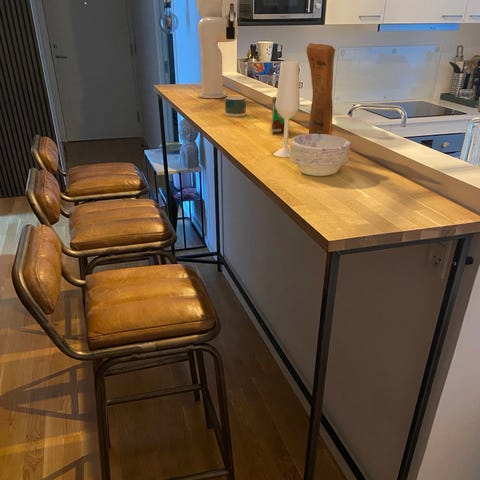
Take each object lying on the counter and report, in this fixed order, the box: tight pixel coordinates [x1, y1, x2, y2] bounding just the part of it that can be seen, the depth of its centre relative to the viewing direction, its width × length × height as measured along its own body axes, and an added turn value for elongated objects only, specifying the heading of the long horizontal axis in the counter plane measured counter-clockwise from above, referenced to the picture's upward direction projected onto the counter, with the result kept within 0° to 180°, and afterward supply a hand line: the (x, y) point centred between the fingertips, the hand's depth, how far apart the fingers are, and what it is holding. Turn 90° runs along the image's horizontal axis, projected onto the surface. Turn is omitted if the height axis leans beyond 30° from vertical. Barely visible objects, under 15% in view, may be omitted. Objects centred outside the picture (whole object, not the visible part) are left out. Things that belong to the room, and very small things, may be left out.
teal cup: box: [224, 95, 247, 118], centre depth 195 cm, size 8×8×6 cm
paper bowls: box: [289, 133, 351, 177], centre depth 129 cm, size 15×15×8 cm
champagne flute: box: [273, 60, 301, 158], centre depth 140 cm, size 7×7×24 cm
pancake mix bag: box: [306, 42, 336, 135], centre depth 144 cm, size 7×19×28 cm, turn 7°
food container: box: [271, 96, 285, 135], centre depth 169 cm, size 12×6×10 cm, turn 179°
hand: (230, 39), depth 194 cm, fingers closed
